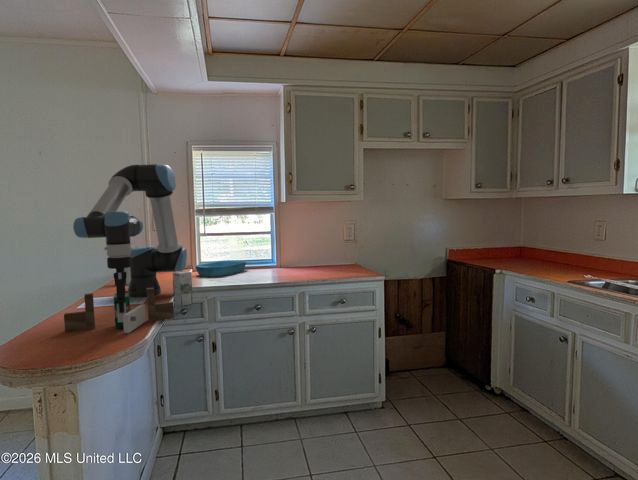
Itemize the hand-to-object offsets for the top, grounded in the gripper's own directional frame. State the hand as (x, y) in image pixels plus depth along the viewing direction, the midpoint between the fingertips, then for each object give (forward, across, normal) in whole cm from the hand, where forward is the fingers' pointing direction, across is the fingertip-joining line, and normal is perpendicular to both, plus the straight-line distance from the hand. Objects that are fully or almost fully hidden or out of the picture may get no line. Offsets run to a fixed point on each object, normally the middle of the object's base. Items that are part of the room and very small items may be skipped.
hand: (122, 317), depth 141 cm
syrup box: (+4, -24, +23) cm, 34 cm away
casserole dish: (+6, -105, +57) cm, 119 cm away
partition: (+4, -4, 0) cm, 6 cm away
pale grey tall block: (+5, -94, +3) cm, 95 cm away
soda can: (+4, 0, 0) cm, 4 cm away
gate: (+3, +3, +5) cm, 6 cm away
